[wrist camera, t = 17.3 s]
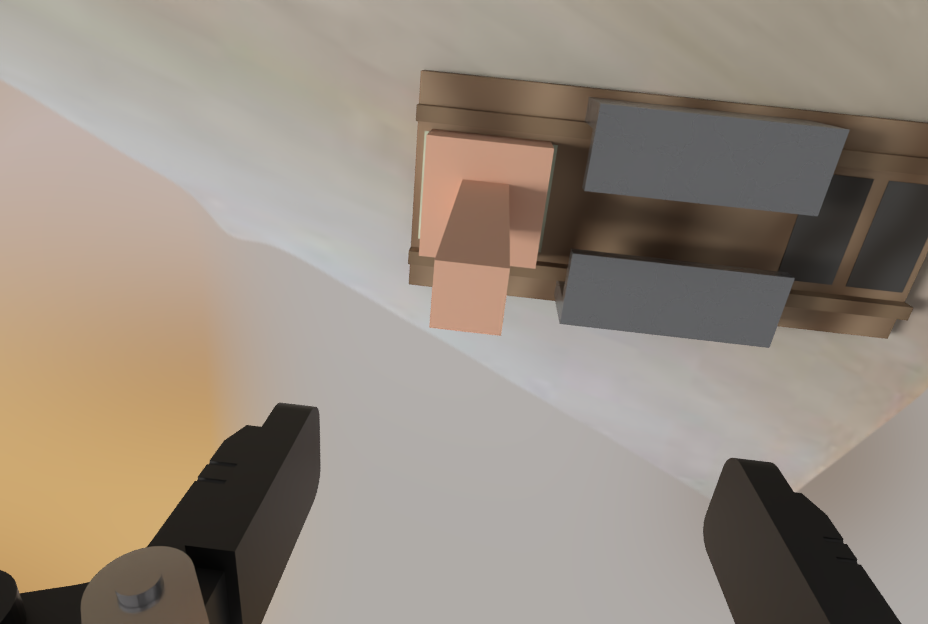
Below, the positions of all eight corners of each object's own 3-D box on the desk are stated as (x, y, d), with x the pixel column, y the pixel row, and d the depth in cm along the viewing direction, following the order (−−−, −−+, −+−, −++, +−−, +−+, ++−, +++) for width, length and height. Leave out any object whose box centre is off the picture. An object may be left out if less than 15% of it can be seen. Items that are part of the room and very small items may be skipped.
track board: (411, 276, 44) (406, 289, 42) (423, 70, 38) (418, 71, 36) (875, 329, 44) (895, 345, 41) (967, 126, 37) (997, 131, 35)
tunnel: (554, 294, 43) (559, 323, 38) (589, 96, 37) (600, 103, 32) (741, 315, 42) (769, 347, 38) (806, 119, 36) (849, 129, 32)
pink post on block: (424, 242, 41) (368, 371, 25) (432, 128, 38) (373, 190, 21) (533, 254, 41) (551, 393, 25) (550, 141, 38) (584, 213, 21)
